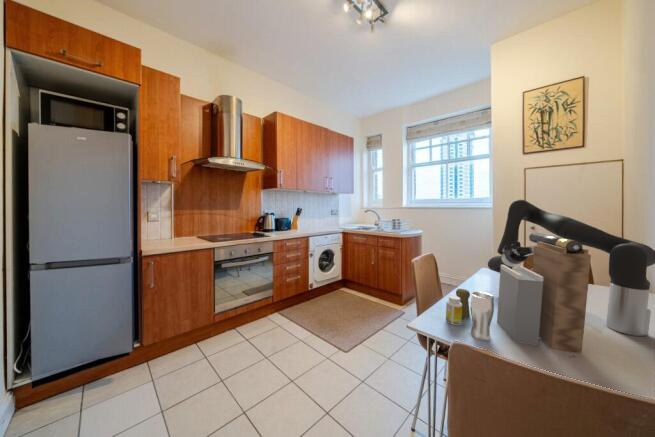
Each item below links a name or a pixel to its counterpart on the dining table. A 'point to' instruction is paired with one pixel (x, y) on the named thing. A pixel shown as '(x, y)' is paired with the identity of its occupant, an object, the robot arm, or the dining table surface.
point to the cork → (464, 301)
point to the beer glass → (481, 314)
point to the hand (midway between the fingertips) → (531, 244)
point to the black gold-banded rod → (557, 242)
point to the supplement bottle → (454, 310)
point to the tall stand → (562, 295)
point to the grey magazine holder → (520, 304)
